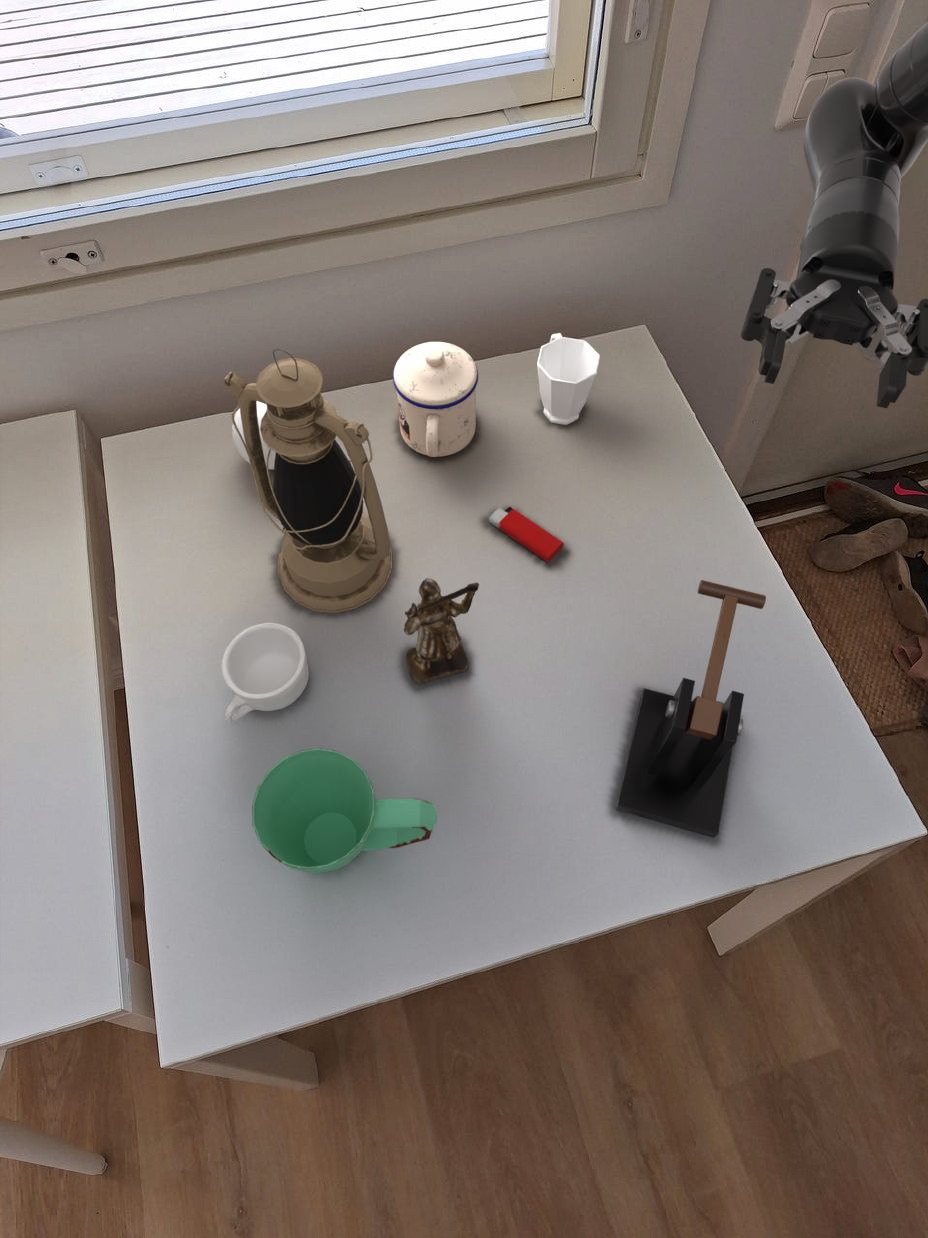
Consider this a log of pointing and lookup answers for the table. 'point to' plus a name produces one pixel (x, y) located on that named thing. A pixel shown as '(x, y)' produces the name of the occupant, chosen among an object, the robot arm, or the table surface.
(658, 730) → the bracket
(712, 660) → the lever
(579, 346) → the cup
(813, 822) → the table surface
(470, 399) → the teacup with lid
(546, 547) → the lighter
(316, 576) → the lantern
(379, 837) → the mug
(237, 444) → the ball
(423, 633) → the figurine
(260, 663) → the teacup
